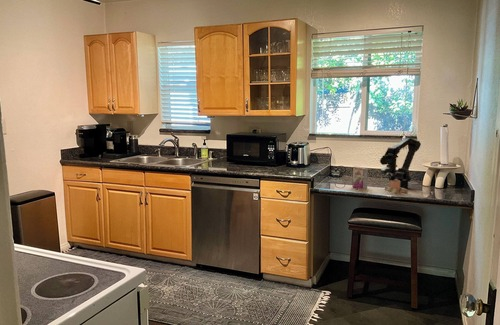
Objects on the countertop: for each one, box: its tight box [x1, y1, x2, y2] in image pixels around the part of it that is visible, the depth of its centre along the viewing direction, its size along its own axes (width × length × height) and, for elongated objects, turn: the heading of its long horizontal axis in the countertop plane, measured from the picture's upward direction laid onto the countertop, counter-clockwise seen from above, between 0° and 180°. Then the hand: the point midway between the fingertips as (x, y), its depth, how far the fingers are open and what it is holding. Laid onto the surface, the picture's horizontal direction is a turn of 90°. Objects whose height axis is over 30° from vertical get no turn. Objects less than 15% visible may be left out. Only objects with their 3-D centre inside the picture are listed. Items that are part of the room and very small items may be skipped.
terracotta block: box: [389, 179, 400, 191], centre depth 297 cm, size 5×5×8 cm
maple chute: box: [384, 185, 409, 195], centre depth 296 cm, size 16×8×4 cm, turn 14°
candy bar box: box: [352, 166, 369, 190], centre depth 311 cm, size 11×5×16 cm, turn 31°
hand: (391, 184), depth 301 cm, fingers closed
